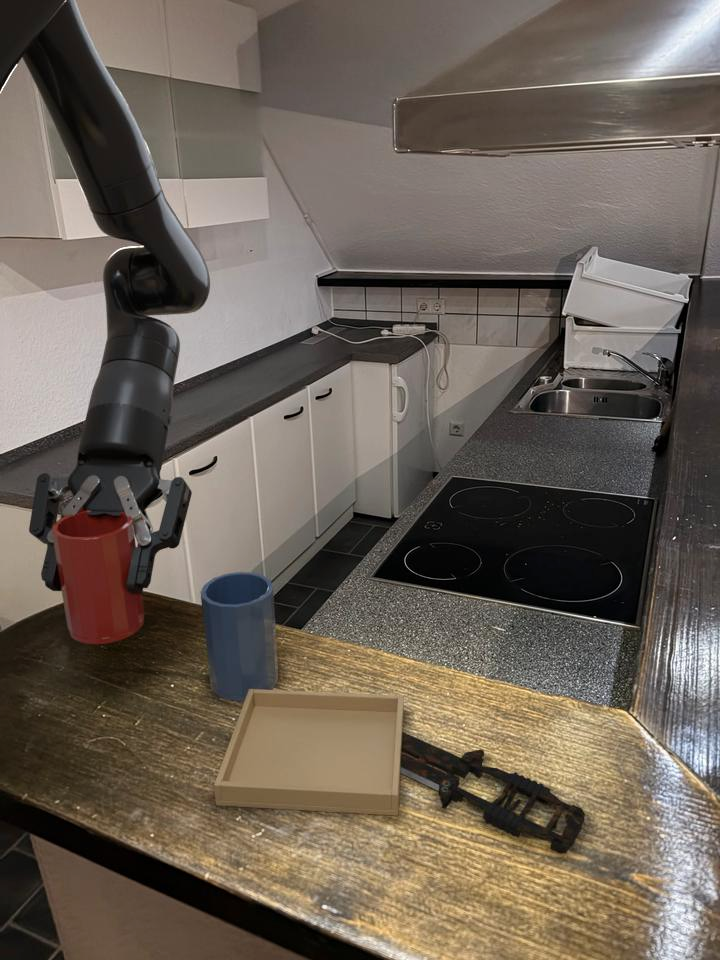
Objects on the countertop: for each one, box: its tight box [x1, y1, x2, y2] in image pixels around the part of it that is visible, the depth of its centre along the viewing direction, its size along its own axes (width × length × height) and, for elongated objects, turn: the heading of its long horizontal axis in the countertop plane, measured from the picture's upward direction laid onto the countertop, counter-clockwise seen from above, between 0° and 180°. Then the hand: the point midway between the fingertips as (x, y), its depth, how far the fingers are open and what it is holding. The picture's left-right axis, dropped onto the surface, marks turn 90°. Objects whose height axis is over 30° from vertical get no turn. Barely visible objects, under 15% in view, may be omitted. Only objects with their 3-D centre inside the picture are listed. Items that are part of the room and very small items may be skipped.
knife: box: [400, 731, 586, 855], centre depth 62 cm, size 25×6×1 cm, turn 50°
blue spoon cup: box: [200, 571, 279, 702], centre depth 72 cm, size 6×6×10 cm
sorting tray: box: [213, 689, 405, 817], centre depth 63 cm, size 14×12×2 cm
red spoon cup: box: [52, 510, 145, 645], centre depth 67 cm, size 6×6×10 cm
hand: (93, 590), depth 65 cm, fingers closed on red spoon cup, 6 cm apart
